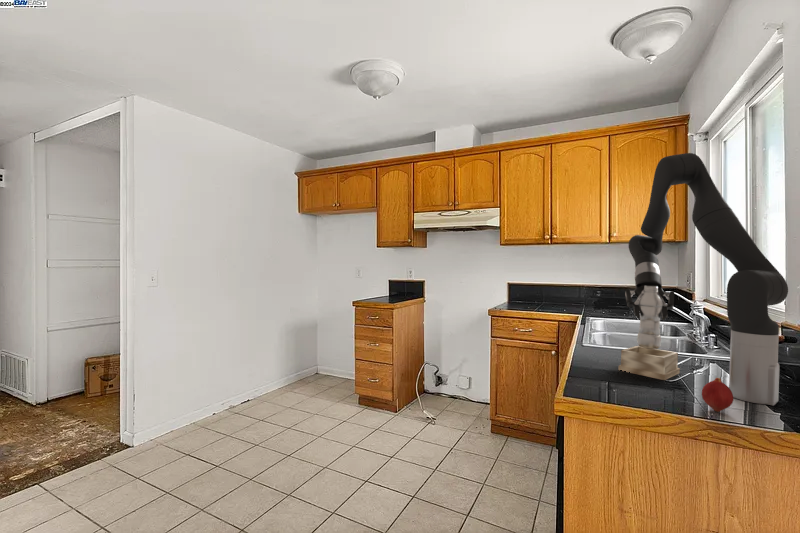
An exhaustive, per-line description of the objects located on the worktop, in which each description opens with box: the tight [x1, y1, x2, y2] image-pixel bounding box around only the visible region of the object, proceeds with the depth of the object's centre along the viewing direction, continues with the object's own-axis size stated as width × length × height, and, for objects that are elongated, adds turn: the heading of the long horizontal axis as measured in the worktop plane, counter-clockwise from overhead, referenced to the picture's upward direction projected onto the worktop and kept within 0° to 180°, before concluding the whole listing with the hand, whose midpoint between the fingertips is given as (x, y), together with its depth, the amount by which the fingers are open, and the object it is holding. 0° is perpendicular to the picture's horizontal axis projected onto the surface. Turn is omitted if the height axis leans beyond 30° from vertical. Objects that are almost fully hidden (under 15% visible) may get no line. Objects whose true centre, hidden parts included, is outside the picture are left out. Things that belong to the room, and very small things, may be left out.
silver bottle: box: [636, 286, 663, 349], centre depth 126 cm, size 6×7×20 cm
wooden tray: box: [618, 345, 681, 381], centre depth 126 cm, size 13×13×6 cm
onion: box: [701, 377, 734, 412], centre depth 93 cm, size 6×6×8 cm
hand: (650, 317), depth 125 cm, fingers closed on silver bottle, 6 cm apart
